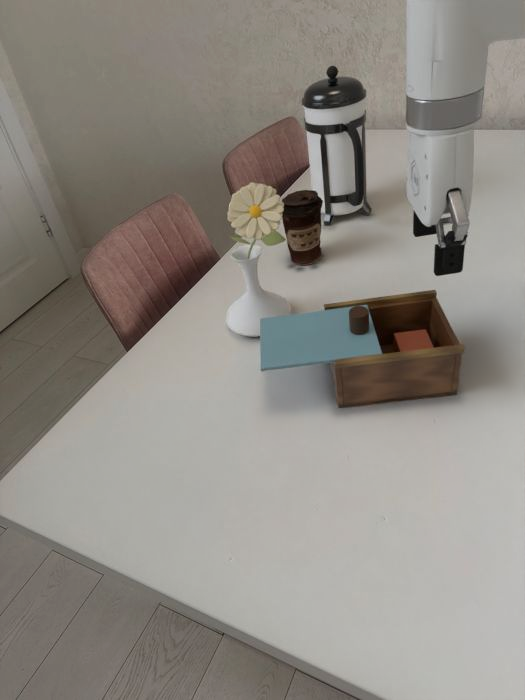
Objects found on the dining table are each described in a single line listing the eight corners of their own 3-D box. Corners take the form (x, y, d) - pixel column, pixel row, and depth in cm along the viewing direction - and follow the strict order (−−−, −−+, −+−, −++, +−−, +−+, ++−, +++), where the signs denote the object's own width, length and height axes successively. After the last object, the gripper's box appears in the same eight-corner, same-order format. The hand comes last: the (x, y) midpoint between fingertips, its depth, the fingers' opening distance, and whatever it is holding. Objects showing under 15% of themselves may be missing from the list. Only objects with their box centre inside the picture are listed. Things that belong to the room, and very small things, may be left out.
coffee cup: (332, 264, 98) (327, 201, 90) (291, 273, 97) (282, 211, 89) (321, 244, 104) (315, 184, 96) (282, 252, 104) (273, 193, 96)
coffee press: (293, 223, 114) (275, 78, 95) (327, 194, 123) (317, 57, 104) (362, 234, 105) (358, 77, 86) (394, 202, 114) (396, 54, 95)
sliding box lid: (367, 307, 72) (366, 286, 70) (382, 356, 63) (382, 335, 61) (260, 321, 73) (256, 301, 71) (261, 371, 65) (256, 351, 62)
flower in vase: (217, 338, 85) (179, 199, 69) (243, 300, 93) (214, 167, 77) (288, 348, 80) (266, 200, 64) (309, 307, 88) (294, 166, 72)
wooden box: (431, 337, 77) (435, 289, 71) (458, 397, 67) (465, 347, 61) (327, 350, 78) (323, 304, 73) (338, 411, 68) (335, 363, 63)
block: (424, 352, 73) (425, 328, 70) (432, 373, 70) (434, 349, 67) (393, 356, 74) (393, 332, 71) (400, 377, 70) (400, 353, 67)
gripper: (389, 94, 59) (391, 226, 70) (429, 142, 45) (424, 296, 56) (454, 82, 58) (445, 217, 69) (514, 126, 45) (492, 285, 56)
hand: (436, 252), depth 63 cm, fingers open, 9 cm apart
